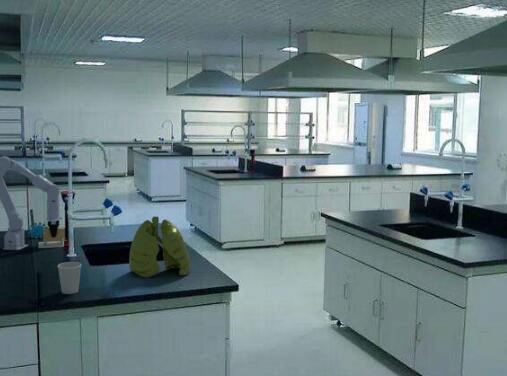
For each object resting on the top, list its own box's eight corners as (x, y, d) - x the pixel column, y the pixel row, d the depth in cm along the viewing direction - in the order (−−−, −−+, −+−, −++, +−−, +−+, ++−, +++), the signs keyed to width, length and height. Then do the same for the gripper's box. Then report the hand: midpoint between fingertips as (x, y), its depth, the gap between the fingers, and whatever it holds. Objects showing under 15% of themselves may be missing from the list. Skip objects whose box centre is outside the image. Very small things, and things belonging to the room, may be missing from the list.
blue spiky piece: (25, 236, 285) (30, 220, 291) (26, 242, 290) (31, 226, 296) (47, 238, 287) (52, 223, 293) (48, 244, 292) (52, 229, 298)
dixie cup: (67, 287, 207) (66, 261, 206) (86, 289, 205) (86, 263, 204) (53, 293, 200) (52, 266, 198) (73, 296, 197) (72, 268, 196)
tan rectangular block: (64, 239, 277) (64, 227, 276) (64, 240, 273) (64, 228, 273) (43, 240, 274) (42, 228, 273) (43, 241, 270) (42, 229, 269)
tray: (68, 242, 281) (68, 234, 280) (69, 246, 272) (69, 238, 271) (38, 243, 276) (38, 235, 276) (38, 248, 267) (38, 240, 266)
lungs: (129, 279, 219) (129, 219, 216) (128, 269, 234) (128, 212, 231) (193, 276, 225) (193, 218, 222) (188, 266, 240) (188, 211, 237)
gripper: (62, 211, 266) (62, 238, 268) (61, 206, 280) (62, 232, 281) (46, 211, 264) (47, 239, 265) (46, 206, 277) (47, 233, 279)
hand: (53, 236), depth 273 cm, fingers closed on tan rectangular block, 4 cm apart
